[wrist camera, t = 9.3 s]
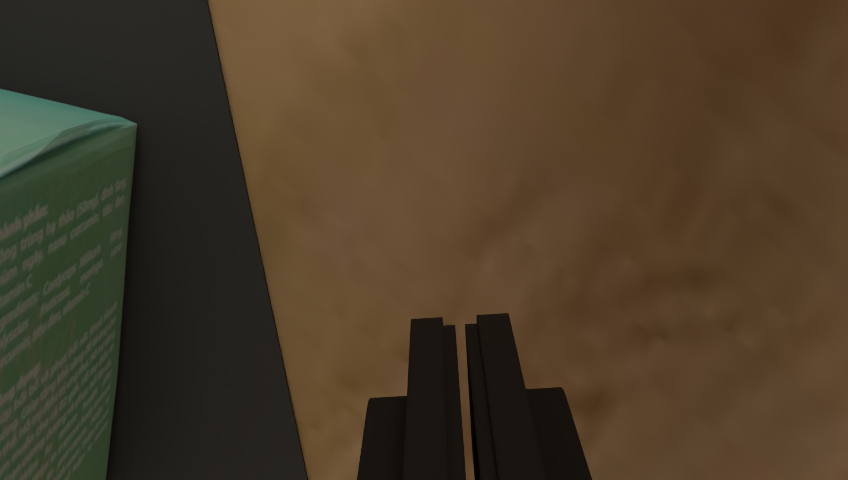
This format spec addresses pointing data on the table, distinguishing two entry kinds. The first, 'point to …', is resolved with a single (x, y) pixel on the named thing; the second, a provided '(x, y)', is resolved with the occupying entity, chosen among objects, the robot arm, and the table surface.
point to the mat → (172, 238)
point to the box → (60, 284)
